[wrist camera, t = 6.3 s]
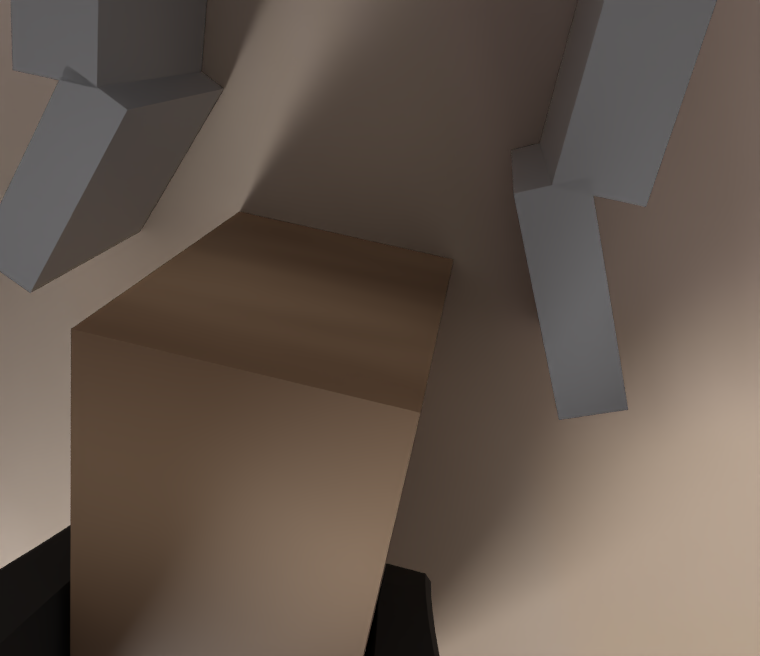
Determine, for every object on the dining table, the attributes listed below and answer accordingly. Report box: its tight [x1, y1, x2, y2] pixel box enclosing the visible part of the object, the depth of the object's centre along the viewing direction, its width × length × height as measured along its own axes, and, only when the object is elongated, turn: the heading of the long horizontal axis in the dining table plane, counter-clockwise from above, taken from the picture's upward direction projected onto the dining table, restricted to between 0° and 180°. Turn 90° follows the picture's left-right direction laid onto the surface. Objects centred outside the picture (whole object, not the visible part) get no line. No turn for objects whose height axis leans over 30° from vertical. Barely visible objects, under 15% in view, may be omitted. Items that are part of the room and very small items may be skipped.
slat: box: [70, 212, 453, 656], centre depth 11 cm, size 10×4×5 cm, turn 170°
